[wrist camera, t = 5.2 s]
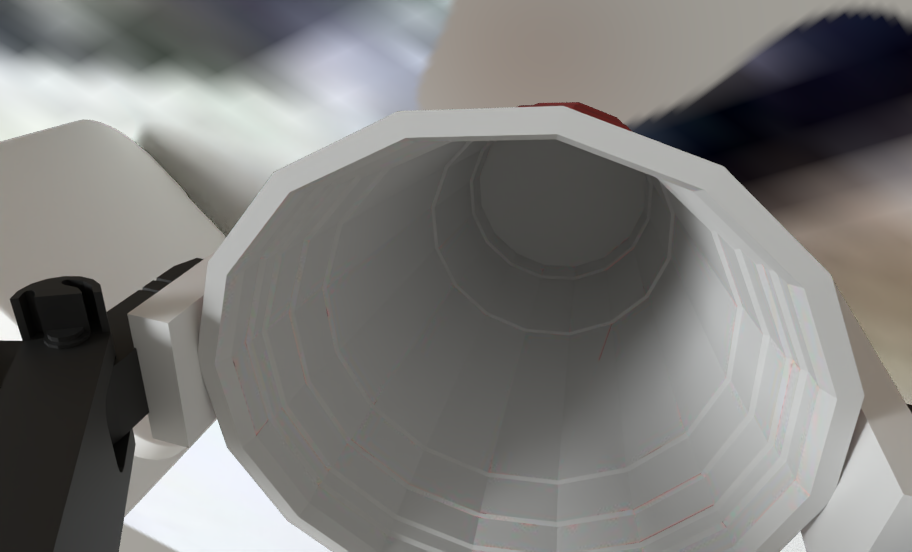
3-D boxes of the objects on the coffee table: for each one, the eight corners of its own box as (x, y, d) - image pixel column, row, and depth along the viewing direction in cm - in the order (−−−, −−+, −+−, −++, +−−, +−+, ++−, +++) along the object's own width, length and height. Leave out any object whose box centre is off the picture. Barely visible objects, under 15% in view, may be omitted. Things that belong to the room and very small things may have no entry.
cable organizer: (326, 326, 33) (189, 481, 23) (221, 408, 38) (71, 566, 28) (117, 106, 31) (-138, 174, 21) (34, 225, 36) (-204, 327, 26)
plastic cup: (604, 385, 23) (577, 727, 13) (360, 229, 23) (135, 455, 13) (832, 149, 18) (1098, 422, 7) (515, -63, 17) (337, -81, 7)
